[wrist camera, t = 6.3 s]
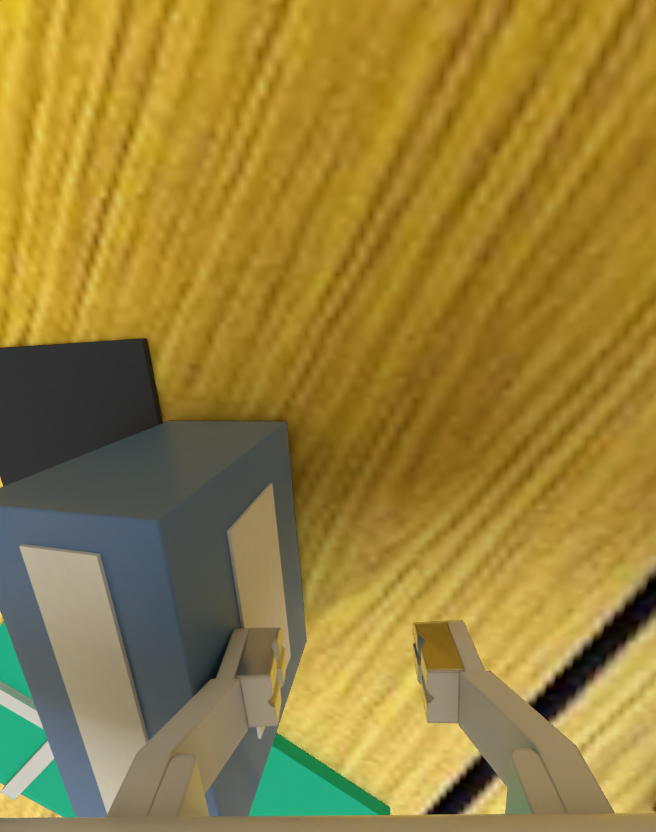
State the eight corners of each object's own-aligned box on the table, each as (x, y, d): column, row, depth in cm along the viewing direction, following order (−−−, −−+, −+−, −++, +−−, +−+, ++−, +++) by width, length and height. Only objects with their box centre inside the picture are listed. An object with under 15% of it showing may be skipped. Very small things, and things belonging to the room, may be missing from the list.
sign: (-92, 742, 21) (23, 593, 18) (-69, 721, 22) (42, 577, 19) (248, 926, 25) (392, 830, 21) (252, 900, 26) (389, 805, 23)
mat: (-33, 350, 16) (-42, 350, 15) (146, 338, 15) (141, 338, 15) (73, 677, 20) (67, 683, 20) (210, 674, 20) (208, 681, 20)
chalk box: (169, 420, 16) (-46, 505, 9) (289, 421, 15) (159, 524, 7) (206, 623, 19) (71, 820, 12) (309, 640, 18) (232, 880, 10)
